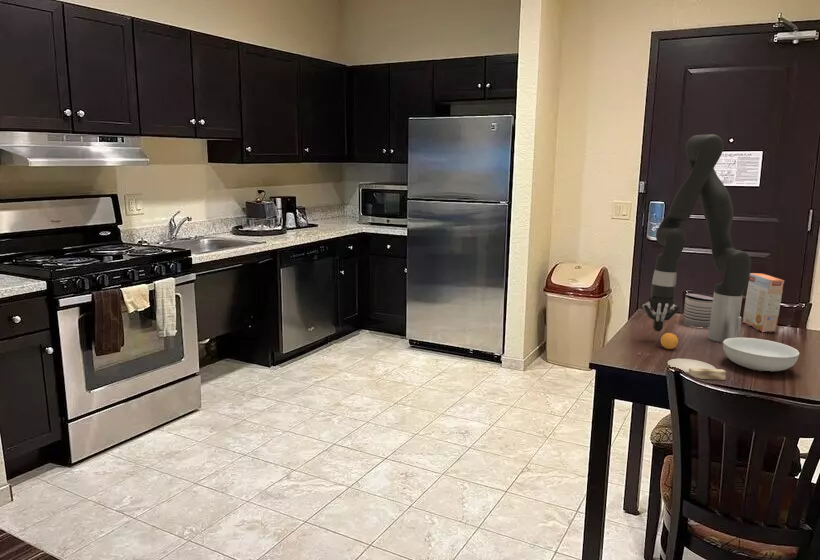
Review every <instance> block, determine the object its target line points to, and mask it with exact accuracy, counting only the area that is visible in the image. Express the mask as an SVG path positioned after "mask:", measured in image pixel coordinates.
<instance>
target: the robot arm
mask: <svg viewBox="0 0 820 560" xmlns="http://www.w3.org/2000/svg"><path fill="white" fill-rule="evenodd" d="M724 147H725V146H724V141H723V139H722V137H720V136H719V135H717V134H712V133H710V134H696V135H692V136H691V137H690V138H688V140H687V141H686V144H685V155H686V158H687V162H688V163H689V167H690V168H691V172H690V173H689V174H688V177H687V178H686V179H685V181H684V182H683V183H682V184H681V186H680V187H679V189H678V190H677V191H676V193H675V194H674V197H673V199H672V202H671V205H670V207H669V210H668V212H667V214H666V215H665V217H664V218H663V220H661V221H662V222H661V223H660V225H659V226H658V227H657V230H656V233H655V239H656V242H657V243H658V244H659V245H660V246H662V247H664V248H663V250H662V253H658V254H657V256H656V260H655V267H654V271H653V275H652V280H651V281H652V282H651V289H650V297H649V299H648V301H647V302H646V303H642V304H641V307H642V309H643V310H644V312H645V313H646V315H647V316H648V318H650V319H651V320H653V323H652V324H653V325H652V329H653V330H654V331H655V332H661V331H662V330H663V325H664V322H665V321H669V320H670V319H671V318H672V317H673V316H674V315H676V313H677V312H679V310H680V307H678V305H676V304H675V301H674V296H675V289H676V284H677V270H678V264H679V263H678V262H679V259H680V257H681V255H682V252H683V249H684V247H685V243H686V234H685V232H684V230H682V228H680V227H681V225H682V224H683V223H687V222H688V221H689V219H690V218H691V216H692V213H693V210H694V208H695V205H696V203H697V201H698V198H700V203H701V209H702V213H703V216H704V219H705V223H706V228H707V231H708V235H709V239H710V245H711V246H710V247H711V255H712V261H713V266H714V267H715V269H716V270H717V271H719V272H720V273H723V274H724V275H723V280H722V281H721V282H719V283H716V284H715V285H714V290H713V296H712V297H713V303H712V310H711V317H710V325H709V328H708V331H707V339H709V340H710V341H712V342H713V341H714V342H718V343H722V342H723V341H724V340H725V339H728V338H740V330H741V326H742V325H741V323H742V320H743V317H742V316H741V310H742V303H743V296H744V291H745V290H746V288H747V287H748V283H749V276H750V273H751V268H752V267H751V266H752V259H751V256H750V255H749V253H748V252H746V251H743V250H741V249H736V248H735V247H734V244H733V242H732V241H733V240H732V237H731V226H732V224H733V218H734V207H733V206H734V205H733V203H732V199H731V195H730V193H729V190H728V189H727V187H726V186H725V184H724V183H723V181H721V178H720V177H719V176H718V174H717V172H716V170H715V167H716V165H717V163H718V161H719V160H720V158H721V156H722V154H723V153H724V152H723V151H724ZM651 309H652V310H651Z"/></svg>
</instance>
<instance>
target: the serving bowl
mask: <svg viewBox="0 0 820 560" xmlns="http://www.w3.org/2000/svg"><path fill="white" fill-rule="evenodd" d="M722 348H723V353H724V354H725V356H726V357H727V358H728V359H729V360H730V361H731V362H733V363H735V364H737V365H738V366H741V367H744V368H745V367H746V369H748V368H749V369H748V370H751V369H752V371H756V370H758V371H757V372H762V371H770V372H780V371H785V370H788V369H790V368H791V367H793V366H794V365H795V364H796V363H797V361H798V359H799V356H800V352H799V350H798V349H796V348H794V347H793V346H790V345H788V344H786V343H780V342H778V341H773V340H768V339H762V338H755V337H739V338H728V339H725V340H724V341H723V343H722Z"/></svg>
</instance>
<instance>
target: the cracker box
mask: <svg viewBox="0 0 820 560" xmlns="http://www.w3.org/2000/svg"><path fill="white" fill-rule="evenodd" d="M784 284H785V280H784V279H781V278H778V277H775V276H772V275H769V274H766V273H756V272H750V273H749V278H748V283H747V289H746V297H745V303H744V308H743V314H742V316H743V317H742V320H741V323H742V322H743V323H747V324H750V325H752V326H753V327H755V328H757V329H759V330H761V331H776V332H777V327H778V321H779V314H780V309H781V304H782V303H781V302H782V296H783V290H784ZM743 323H742V324H743Z"/></svg>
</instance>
